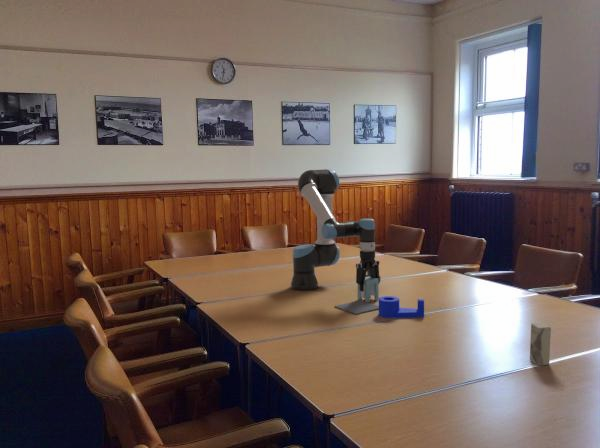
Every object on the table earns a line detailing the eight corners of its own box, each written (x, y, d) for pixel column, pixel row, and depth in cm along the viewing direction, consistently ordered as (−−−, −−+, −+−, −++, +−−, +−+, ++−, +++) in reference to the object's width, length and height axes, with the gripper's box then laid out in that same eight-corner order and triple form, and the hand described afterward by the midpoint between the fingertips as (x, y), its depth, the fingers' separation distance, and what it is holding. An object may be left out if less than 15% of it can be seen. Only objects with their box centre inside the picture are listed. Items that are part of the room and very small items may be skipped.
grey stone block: (529, 360, 174) (529, 322, 173) (541, 359, 175) (542, 322, 173) (537, 366, 169) (538, 327, 168) (550, 365, 170) (551, 327, 168)
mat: (334, 307, 246) (334, 306, 246) (360, 301, 255) (360, 300, 255) (356, 314, 233) (356, 313, 233) (382, 308, 242) (382, 307, 242)
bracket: (378, 318, 228) (378, 301, 227) (379, 312, 236) (378, 296, 236) (424, 319, 224) (424, 302, 223) (423, 313, 233) (423, 296, 232)
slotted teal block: (357, 299, 259) (357, 278, 258) (368, 297, 263) (368, 276, 262) (367, 302, 253) (367, 280, 252) (378, 300, 257) (378, 278, 256)
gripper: (357, 253, 247) (358, 301, 249) (386, 248, 257) (387, 294, 260) (347, 251, 253) (348, 297, 256) (376, 247, 263) (377, 292, 266)
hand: (368, 296), depth 258 cm, fingers closed on slotted teal block, 6 cm apart
